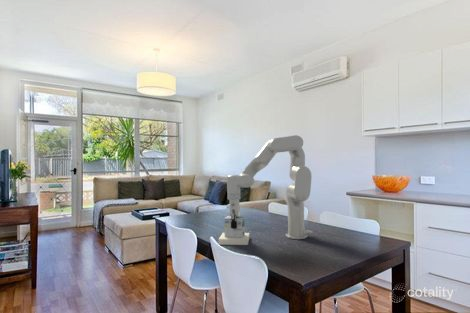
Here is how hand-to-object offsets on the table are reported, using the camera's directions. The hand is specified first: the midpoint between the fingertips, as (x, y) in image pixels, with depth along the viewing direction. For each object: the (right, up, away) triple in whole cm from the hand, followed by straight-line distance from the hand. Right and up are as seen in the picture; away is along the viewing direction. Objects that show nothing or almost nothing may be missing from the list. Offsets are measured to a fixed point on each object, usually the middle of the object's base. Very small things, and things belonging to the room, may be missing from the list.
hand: (234, 226), depth 157 cm
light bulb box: (0, -6, 0) cm, 6 cm away
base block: (0, -8, 0) cm, 8 cm away
